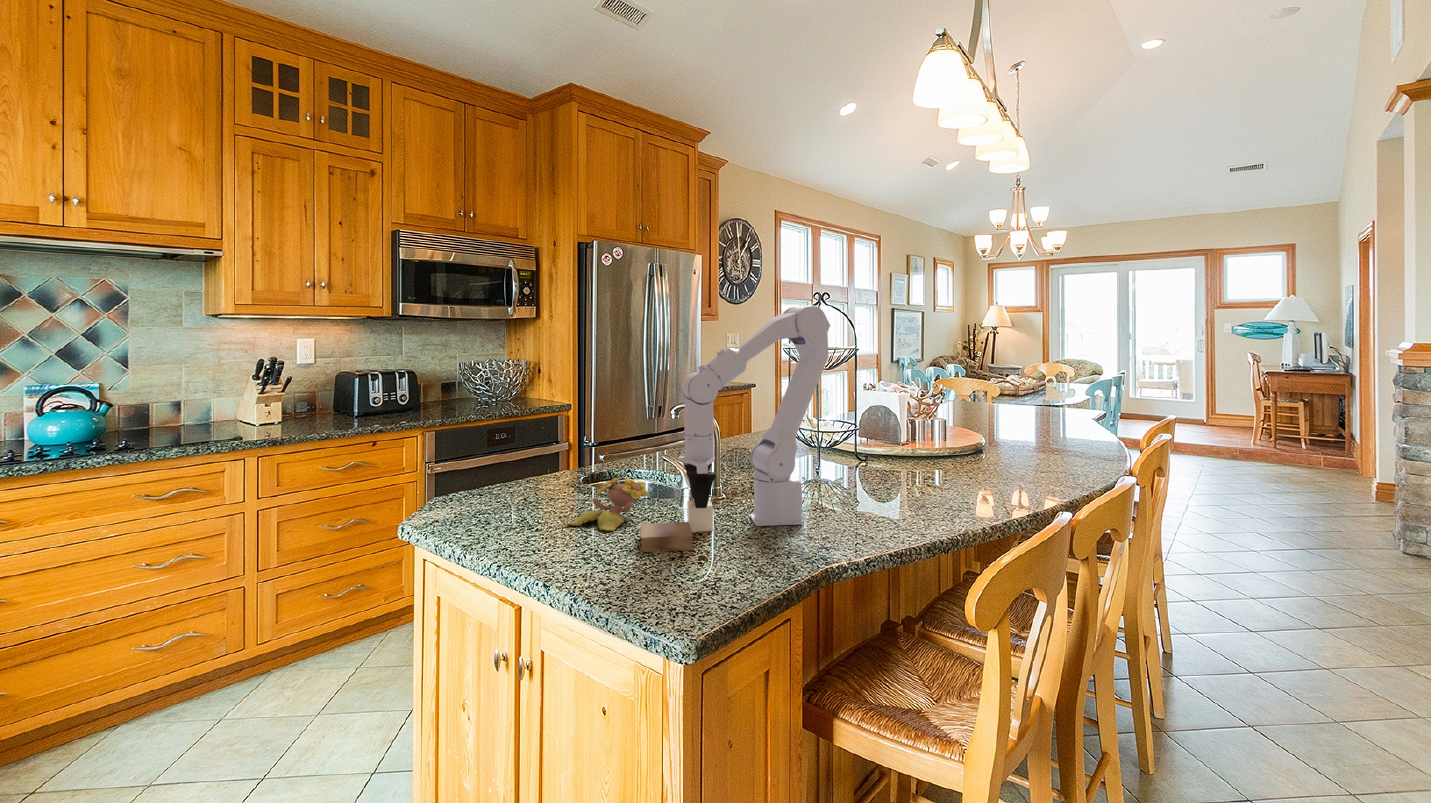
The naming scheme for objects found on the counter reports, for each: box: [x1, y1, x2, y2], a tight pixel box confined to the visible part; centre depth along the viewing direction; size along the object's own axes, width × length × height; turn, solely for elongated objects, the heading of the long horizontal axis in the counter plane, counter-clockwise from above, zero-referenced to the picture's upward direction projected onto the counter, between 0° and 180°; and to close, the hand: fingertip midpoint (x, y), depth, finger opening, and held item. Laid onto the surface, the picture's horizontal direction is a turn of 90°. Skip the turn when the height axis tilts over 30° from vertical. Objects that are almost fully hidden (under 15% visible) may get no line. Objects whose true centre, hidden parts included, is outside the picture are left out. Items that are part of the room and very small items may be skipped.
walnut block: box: [640, 521, 694, 553], centre depth 126 cm, size 9×9×3 cm
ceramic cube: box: [686, 499, 714, 533], centre depth 135 cm, size 5×5×5 cm
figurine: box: [566, 476, 650, 532], centre depth 142 cm, size 12×9×15 cm
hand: (699, 502), depth 135 cm, fingers open, 7 cm apart
